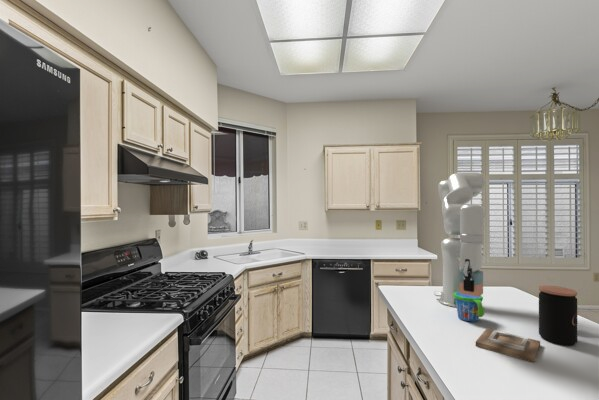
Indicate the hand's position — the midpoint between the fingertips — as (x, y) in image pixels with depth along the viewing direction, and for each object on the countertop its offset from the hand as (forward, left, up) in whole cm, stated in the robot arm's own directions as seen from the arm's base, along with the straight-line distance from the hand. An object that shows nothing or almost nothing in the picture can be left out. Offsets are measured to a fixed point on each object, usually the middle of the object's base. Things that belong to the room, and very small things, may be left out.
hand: (471, 288), depth 113 cm
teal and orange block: (0, 0, -2) cm, 2 cm away
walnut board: (+11, +2, -18) cm, 21 cm away
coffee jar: (+23, +20, -18) cm, 35 cm away
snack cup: (-6, +20, -18) cm, 27 cm away
